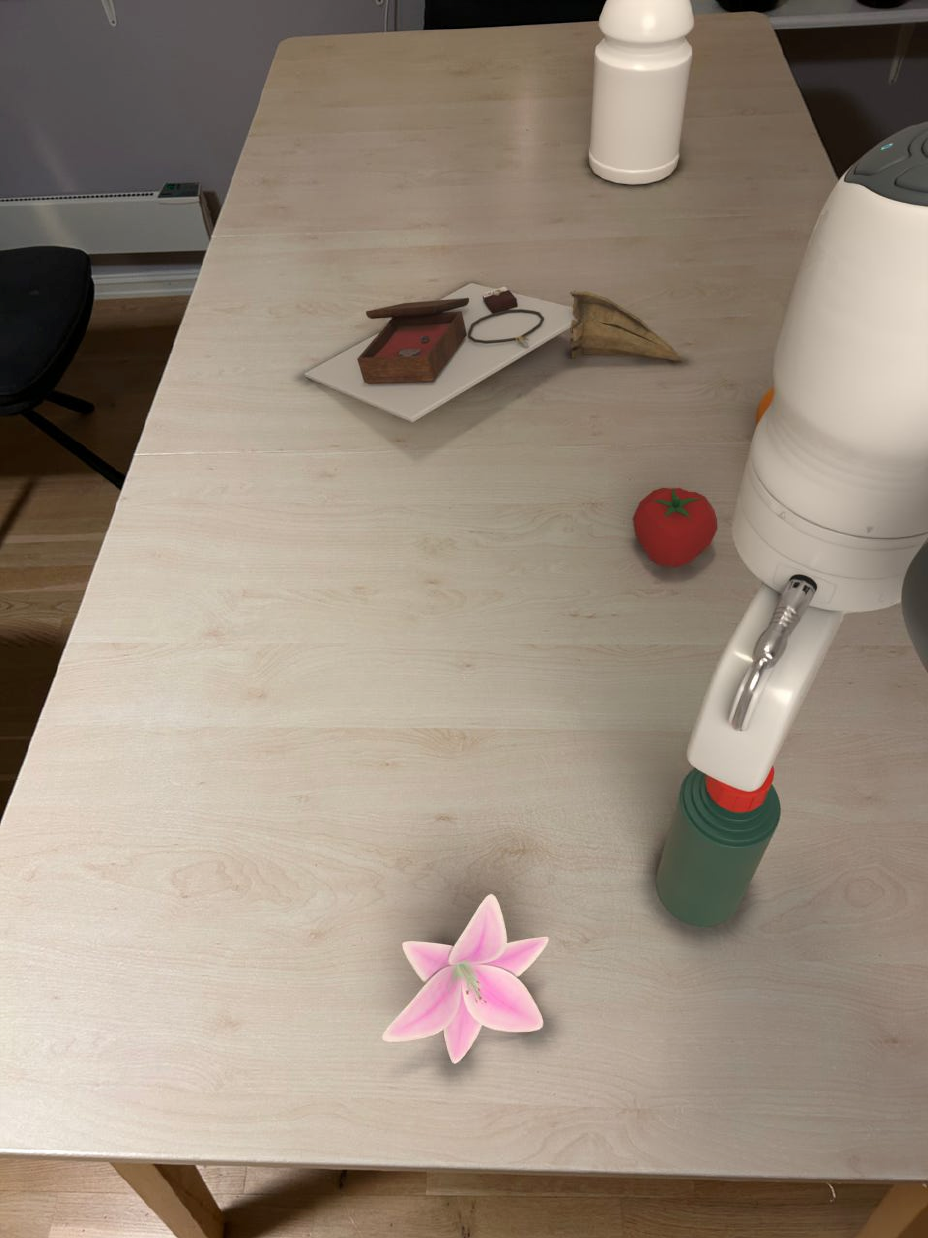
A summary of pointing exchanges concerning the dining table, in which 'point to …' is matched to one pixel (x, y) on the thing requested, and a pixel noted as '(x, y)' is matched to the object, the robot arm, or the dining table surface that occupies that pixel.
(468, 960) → the lily
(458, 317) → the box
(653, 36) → the bottle
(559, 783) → the dining table surface
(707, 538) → the tomato
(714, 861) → the bottle
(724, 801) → the cap
